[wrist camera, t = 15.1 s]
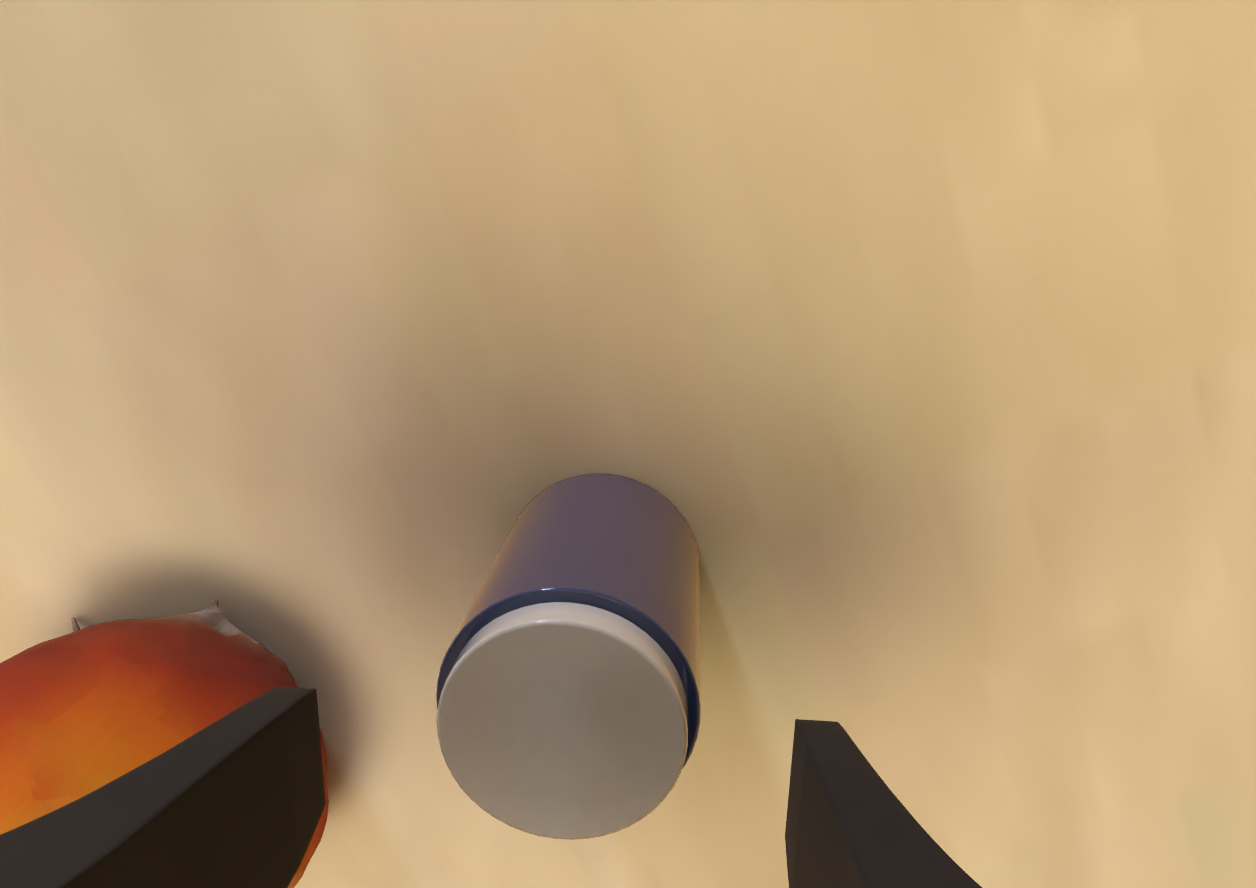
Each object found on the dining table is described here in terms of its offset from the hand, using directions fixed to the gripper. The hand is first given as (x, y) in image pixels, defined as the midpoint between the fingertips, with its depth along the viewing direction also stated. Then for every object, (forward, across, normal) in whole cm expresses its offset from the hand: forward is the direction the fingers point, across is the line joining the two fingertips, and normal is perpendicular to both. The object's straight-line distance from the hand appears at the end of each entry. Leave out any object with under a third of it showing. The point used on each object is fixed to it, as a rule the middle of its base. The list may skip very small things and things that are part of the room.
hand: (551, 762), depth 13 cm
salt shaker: (+7, 0, 0) cm, 7 cm away
